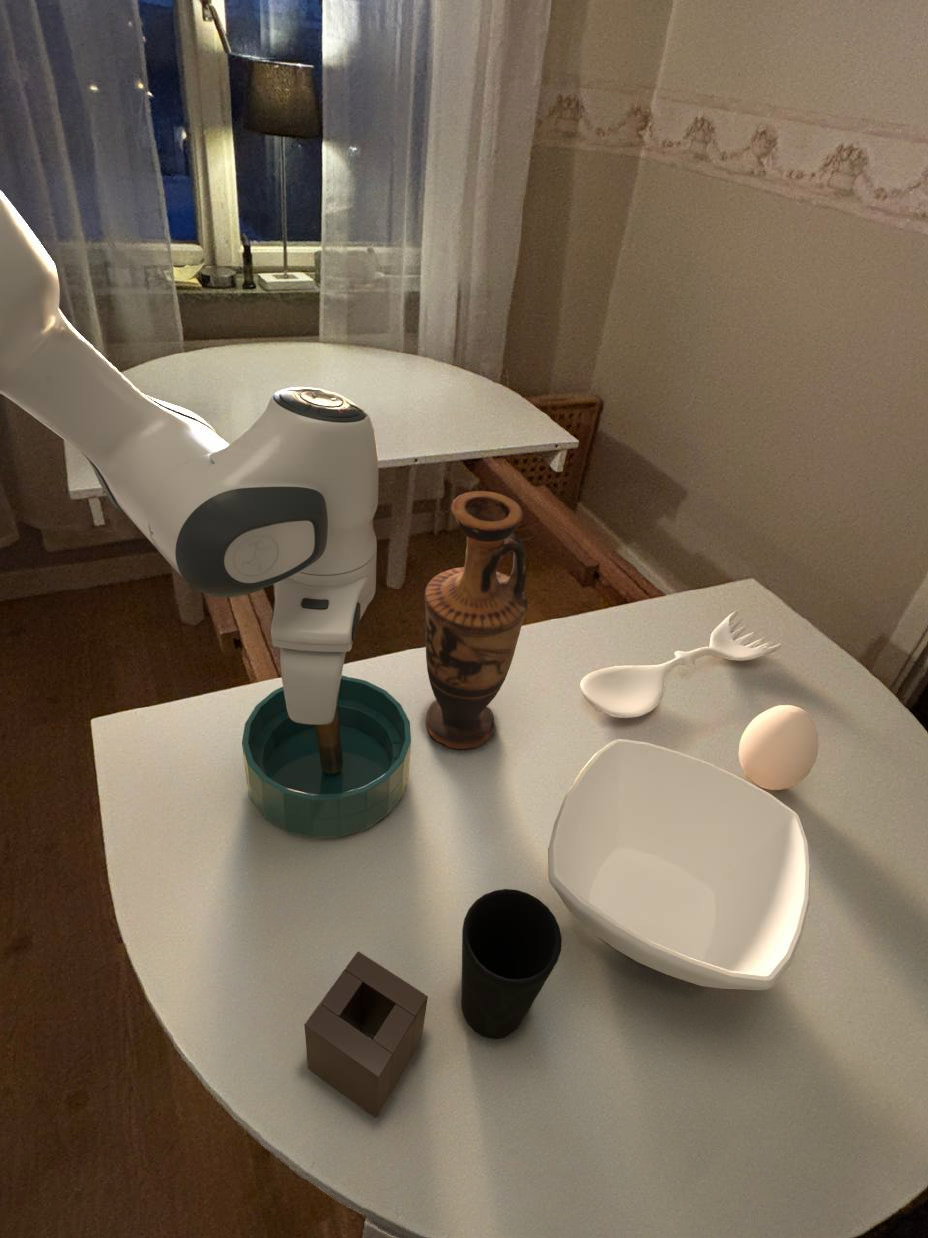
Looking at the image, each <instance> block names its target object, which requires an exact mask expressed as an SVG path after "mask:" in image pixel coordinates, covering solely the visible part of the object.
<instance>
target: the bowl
mask: <svg viewBox="0 0 928 1238" xmlns="http://www.w3.org/2000/svg"><path fill="white" fill-rule="evenodd" d="M558 810H559V811H558V812H557V815H556V818H555V821H554V823H553V827H552V832H551V836H550V840H549V845H548V848H547V868H548V869H547V872H548V873H547V874H548V876H547V877H548V881H549V883H550V885H551V886H552V888H553V890H554V891H555V892H556V894H557V896H558V897H559V898H560V900H561V903H562V904H563V905H564V907H565V908H566V909H567V911H568V913H570V915H572V916H573V917H574V918H575V920H577V922H578V923H580V924H581V926H582V927H583V928H585V929H586V930H588V931H589V932H591V933H592V934H593V935H595V936H596V937H597V938H599V939H601V940H602V941H603V942H605V943H606V944H607V945H609V946H610V947H612V948H613V949H615V950H616V951H618V952H620V953H622V954H623V955H625V956H627V957H628V958H630V959H631V960H633V961H635V962H637V963H638V964H641V965H643V966H645V967H648V968H649V969H652V970H655V971H657V972H660V973H661V974H664V975H667V976H670V977H673V978H676V979H678V980H682V981H685V982H688V983H691V984H694V985H697V986H700V987H707V988H715V989H723V990H724V989H725V990H726V989H728V990H747V991H748V990H750V991H768V990H770V989H771V988H772V987H774V985H776V983H777V981H779V979H780V978H781V977H782V976H783V974H785V972H786V971H787V970H788V969H789V968H790V965H791V963H792V960H793V958H794V956H795V953H796V951H797V948H798V946H799V944H800V941H801V939H802V934H803V931H804V926H805V923H806V918H807V914H808V910H809V906H810V893H811V891H810V890H811V862H810V852H809V851H810V850H809V844H808V840H807V837H806V833H805V831H804V827H803V825H802V822H801V819H800V817H799V814H798V813H797V812H795V811H794V810H793V809H791V808H790V807H789V806H788V805H786V804H785V803H783V802H782V801H781V800H779V798H777V797H775V796H774V795H773V794H771V793H769V792H768V791H766V790H764V789H763V788H761V787H759V786H758V785H756V784H754V783H751V782H749V781H747V780H745V779H744V778H742V777H740V776H738V775H736V774H734V773H732V772H730V771H727V770H725V769H723V768H721V767H719V766H717V765H715V764H712V763H711V762H708V761H706V760H702V759H700V758H697V757H694V756H692V755H689V754H686V753H684V752H681V751H678V750H674V749H671V748H668V747H664V746H660V745H657V744H653V743H650V742H646V741H639V740H631V739H625V738H616V739H614V740H612V741H611V742H610V743H608V744H606V745H605V746H603V747H602V748H600V749H599V750H598V751H597V752H595V753H594V754H593V756H591V758H590V759H589V760H588V762H587V763H586V764H585V765H584V766H583V767H582V768H581V770H580V771H579V773H578V775H577V776H576V778H575V779H574V781H573V782H572V784H571V786H570V787H569V788H568V791H567V792H566V794H565V795H564V796H563V800H562V803H561V805H560V807H559V809H558Z"/></svg>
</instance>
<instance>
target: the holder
mask: <svg viewBox="0 0 928 1238" xmlns="http://www.w3.org/2000/svg"><path fill="white" fill-rule="evenodd" d="M428 1000H429V996H428V995H427V994H426V993H424V992H422V990H420V989H418V988H416V987H415V986H413V985H412V984H410V983H409V982H407V981H405V979H402V978H401V977H399V976H398V975H397V974H394V973H393V972H392V971H390V970H389V969H387V968H385V967H384V966H382V965H381V964H380V963H378V962H376V961H375V960H373V959H372V958H370V957H368V956H367V955H365V954H364V953H362V952H360V950H358V951H356V953H355V954H354V955H353V956H352V958H351V960H350V961H349V963H348V964H347V965H346V967H345V968H344V970H342V972H341V973H340V975H339V976H338V977H337V979H336V980H335V982H334V983H333V984H332V986H331V987H330V988H329V989H328V991H327V992H326V994H325V995H324V997H323V998H322V1000H321V1001H320V1002H319V1003H318V1005H317V1006H316V1008H315V1009H314V1011H313V1012H312V1013H311V1015H310V1016H309V1017H308V1018H307V1020H306V1021H305V1023H304V1040H305V1051H306V1064H307V1066H306V1067H307V1070H308V1071H310V1072H312V1073H313V1074H315V1076H317V1077H318V1078H320V1079H321V1080H323V1081H324V1082H325V1083H327V1084H328V1085H329V1086H330V1087H332V1088H334V1089H335V1090H336V1091H337V1092H339V1093H340V1094H342V1095H343V1096H344V1097H345V1098H347V1099H349V1100H350V1101H351V1102H352V1103H354V1104H355V1105H357V1106H358V1107H359V1108H360V1109H362V1110H363V1111H365V1112H366V1113H368V1115H370V1116H372V1117H373V1118H374V1119H377V1117H378V1115H379V1114H380V1112H381V1110H382V1109H383V1107H384V1105H386V1102H387V1101H388V1099H389V1097H390V1095H391V1094H392V1092H393V1090H394V1088H395V1087H396V1085H397V1083H398V1082H399V1080H400V1078H401V1076H402V1074H404V1071H405V1070H406V1068H407V1066H408V1065H409V1063H410V1061H411V1059H412V1058H413V1057H414V1055H415V1052H416V1051H417V1049H418V1048H419V1046H420V1044H421V1043H422V1039H423V1033H424V1026H425V1020H426V1014H427V1013H426V1012H427V1008H428V1007H427V1005H428ZM362 1028H363V1029H364V1030H365V1031H367V1032H369V1033H370V1034H371V1035H373V1036H374V1037H373V1039H372V1038H371V1037H369V1036H368V1035H366V1034H364V1033H363V1032H362V1031H360V1030H361V1029H362Z"/></svg>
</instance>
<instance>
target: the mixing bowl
mask: <svg viewBox="0 0 928 1238" xmlns="http://www.w3.org/2000/svg"><path fill="white" fill-rule="evenodd" d="M337 709H338V718H339V728H340V738H341V747H342V757H343V766H342V768H341V770H340V771H339V772H338V773H336V774H327V773H326V772H324V771H323V769H322V768H321V763H320V755H319V748H318V740H317V733H316V725H310V724H301V723H296V722H294V721H293V720H291V719H290V717H289V715H288V712H287V707H286V701H285V695H284V689H283V686H280V687H279V688H276V689H274V690H273V691H271V692H270V693H269V694H268V695H267V696H266V697H264V698H263V699H262V700H261V701H260V702H258V703H257V704H256V705H255V706H254V708H253V709H252V711H251V713H250V714H249V716H248V718H247V719H246V721H245V723H244V727H243V734H242V739H241V740H242V741H241V747H242V755H243V756H242V757H243V762H244V771H245V778H246V779H245V780H246V784H247V788H248V791H249V795H250V800H251V802H252V803H253V804H254V806H255V807H256V808H257V810H258V811H259V812H260V813H261V814H262V816H263V817H264V818H265V819H266V820H267V821H269V822H271V823H272V824H274V825H276V826H278V827H279V828H281V829H283V830H284V831H285V832H288V833H292V834H296V835H300V836H304V837H307V838H313V839H315V838H339V837H341V838H342V837H343V836H344V837H345V836H347V835H350V834H353V833H357V832H360V831H363V830H366V829H368V828H370V827H371V826H372V825H374V824H376V823H377V822H378V821H380V820H382V819H383V818H385V817H386V816H388V814H389V813H390V812H391V811H392V810H393V809H394V807H395V806H396V805H397V804H398V802H399V801H400V800H401V799H402V797H403V794H404V791H405V788H406V785H407V782H408V779H409V771H410V759H411V747H412V735H411V734H412V731H411V721H410V720H409V718H408V715H407V713H406V711H405V710H404V707H403V706H402V703H400V702H399V701H398V700H396V698H395V697H394V696H393V695H392V694H390V693H389V692H388V691H387V690H386V689H385V688H382V687H380V686H378V685H375V684H373V683H372V682H369V681H368V680H365V679H361V678H357V677H351V676H347V675H342V676H341V681H340V687H339V693H338V700H337Z"/></svg>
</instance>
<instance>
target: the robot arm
mask: <svg viewBox="0 0 928 1238" xmlns="http://www.w3.org/2000/svg"><path fill="white" fill-rule="evenodd" d="M60 288H61V287H60V281H59V275H58V271H57V267H56V263H55V262H54V261H53V260H52V258H51V256H50V255H49V254H48V252H47V250H46V249H45V248H44V246H43V245H42V244H41V241H40V240H39V239H38V238H37V236H36V234H35V233H34V232H33V230H32V229H31V228H30V227H29V225H28V224H27V222H26V221H25V220H24V218H23V217H22V216H21V215H20V213H19V212H18V210H17V209H16V208H15V206H14V205H13V204H12V202H11V201H10V200H9V199H8V198H7V197H6V195H5V194H4V192H3V191H2V190H0V395H2V396H4V397H5V398H7V399H9V400H10V401H12V402H13V403H14V404H15V405H17V406H18V407H19V408H21V409H22V410H24V411H25V412H26V413H28V414H29V416H32V417H33V418H34V419H36V420H37V421H39V423H41V424H42V425H43V426H45V427H46V428H48V429H49V430H51V431H52V432H53V433H55V434H56V435H57V436H58V437H60V438H61V439H63V440H64V441H65V442H66V443H68V444H69V445H71V446H72V447H73V448H75V449H76V450H77V451H79V452H80V453H81V454H82V455H83V456H84V457H85V458H86V460H88V462H89V464H90V466H91V468H92V470H93V472H94V475H95V476H96V479H97V481H98V482H99V485H100V486H101V488H102V490H103V492H104V494H105V495H106V497H107V499H108V500H109V501H110V502H111V503H112V504H113V506H114V507H115V508H116V509H118V510H119V511H120V512H121V513H122V514H123V515H124V516H125V517H126V518H127V519H128V520H129V521H131V522H132V523H133V524H134V525H135V526H136V527H137V529H138V530H139V531H140V532H141V533H142V534H143V535H144V537H145V538H146V539H147V540H148V541H149V542H150V543H151V544H152V545H153V547H154V548H155V549H156V550H157V551H158V553H160V555H161V556H162V557H163V558H164V560H166V561H167V563H168V564H169V565H170V566H171V567H172V568H173V569H174V570H175V572H176V573H178V575H180V576H181V578H182V579H183V580H184V581H185V582H186V583H187V584H188V585H189V586H190V587H191V588H192V589H194V590H196V591H197V592H199V593H202V594H204V595H206V596H211V597H215V598H237V597H242V596H246V595H249V594H252V593H255V592H259V591H261V590H264V589H266V588H268V587H270V586H273V594H274V598H273V599H274V600H273V608H272V615H271V621H270V623H271V625H270V640H271V645H272V646H273V647H274V648H279V649H280V650H279V665H280V675H281V681H282V687H283V689H284V695H285V701H286V707H287V712H288V715H289V717H290V719H291V720H293V721H294V722H296V723H301V724H310V725H327V724H330V723H332V721H333V720H334V716H335V712H336V706H337V700H338V693H339V687H340V681H341V676H343V671H344V664H345V661H346V660H345V658H346V655H347V653H348V652H351V650H352V648H353V643H354V641H355V638H356V634H357V631H358V628H359V625H360V621H361V619H362V617H363V616H364V614H365V612H366V610H367V608H368V606H369V604H371V602H372V601H373V600H374V597H375V594H376V589H377V553H378V541H377V536H376V533H375V530H374V518H375V516H376V512H377V510H378V505H379V480H380V479H379V455H378V445H377V438H376V432H375V428H374V425H373V422H372V420H371V417H370V416H369V414H367V412H365V410H364V409H363V408H362V407H360V406H359V405H357V404H356V403H354V402H353V401H351V400H350V399H348V398H346V397H344V396H342V395H341V394H338V393H336V392H331V391H328V390H324V389H321V388H316V387H304V386H295V387H294V386H293V387H288V388H284V389H281V390H278V391H276V392H275V393H273V394H272V395H271V397H270V399H269V401H268V403H267V406H266V407H265V410H264V412H262V414H261V415H260V417H259V418H258V419H257V420H256V421H255V422H254V423H253V424H252V425H251V426H250V427H249V429H247V430H246V431H245V432H244V433H243V434H241V435H240V436H239V437H237V438H236V439H235V440H233V441H232V442H230V443H229V442H226V441H225V440H224V439H223V437H222V436H221V435H220V434H219V433H218V432H217V431H216V430H215V429H214V428H213V427H212V426H211V425H210V424H209V423H208V422H207V421H206V420H205V419H203V418H202V417H201V416H199V415H198V414H196V413H194V412H193V411H191V410H188V409H186V408H184V407H181V406H179V405H175V404H173V403H169V402H167V401H163V400H161V399H157V398H154V397H152V396H150V395H147V394H146V393H145V392H143V391H142V390H140V389H139V388H138V387H136V386H135V384H133V383H132V382H131V381H130V380H129V379H128V378H127V377H125V375H124V374H122V373H121V372H120V370H118V369H117V368H116V367H115V366H114V365H113V364H112V363H111V362H110V361H108V360H107V358H106V357H105V356H103V355H102V354H101V352H99V351H98V350H97V349H96V348H95V347H94V346H93V345H92V344H91V343H90V342H89V341H88V340H87V339H85V337H84V336H82V335H81V334H80V333H79V332H78V331H77V330H76V329H75V327H74V326H73V325H72V324H71V323H70V321H68V319H67V318H66V316H65V315H64V314H63V312H62V311H61V309H60V301H61V300H60V299H61V298H60V297H61V296H60V295H61V293H60V292H61V291H60V290H61V289H60Z"/></svg>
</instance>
